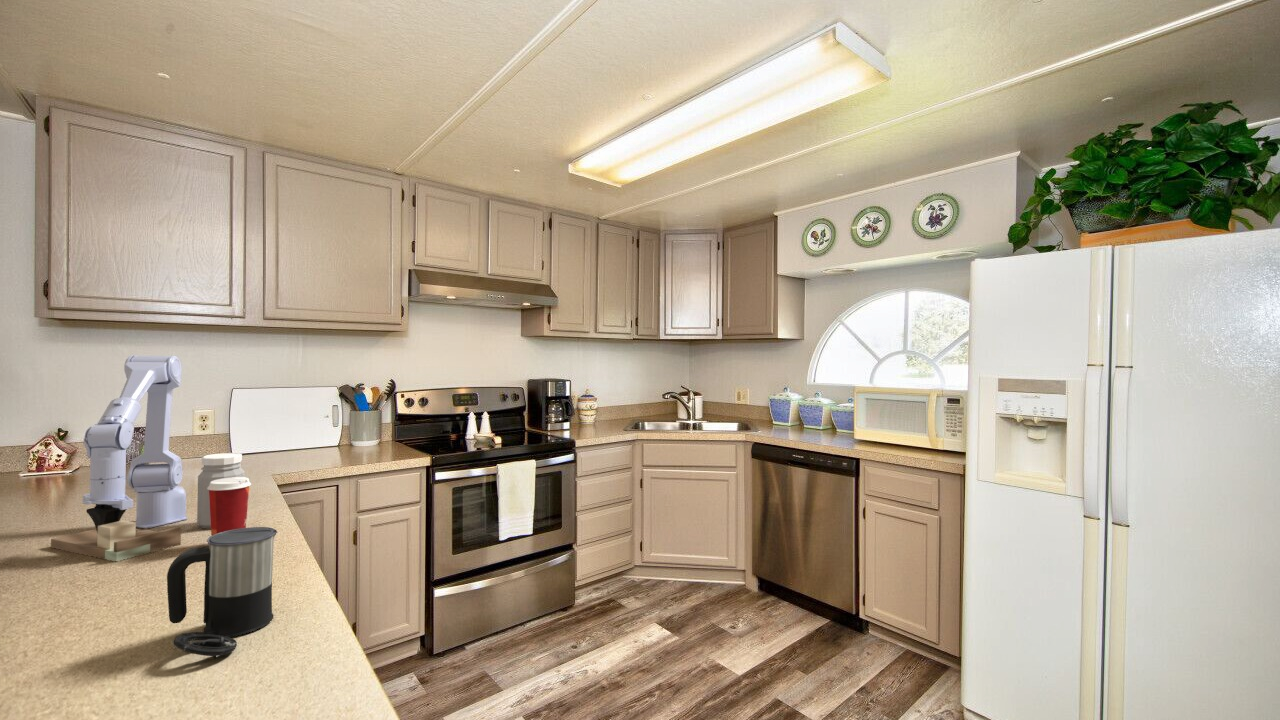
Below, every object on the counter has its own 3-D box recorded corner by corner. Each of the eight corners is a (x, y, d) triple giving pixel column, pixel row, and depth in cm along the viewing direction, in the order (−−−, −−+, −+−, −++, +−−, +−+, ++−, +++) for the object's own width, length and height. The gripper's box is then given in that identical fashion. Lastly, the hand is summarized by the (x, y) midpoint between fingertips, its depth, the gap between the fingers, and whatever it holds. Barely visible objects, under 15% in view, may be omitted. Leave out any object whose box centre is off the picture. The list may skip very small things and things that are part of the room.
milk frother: (264, 607, 95) (266, 522, 95) (297, 637, 85) (299, 542, 85) (157, 638, 84) (159, 542, 84) (179, 676, 74) (181, 567, 74)
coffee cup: (258, 539, 130) (259, 477, 130) (229, 551, 122) (230, 484, 122) (226, 537, 131) (227, 475, 131) (195, 549, 123) (196, 483, 123)
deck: (116, 532, 134) (117, 516, 134) (180, 544, 126) (180, 527, 126) (50, 547, 123) (51, 530, 123) (116, 561, 115) (116, 543, 115)
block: (122, 540, 122) (123, 520, 122) (135, 542, 121) (135, 522, 121) (97, 546, 118) (97, 525, 118) (109, 549, 116) (110, 528, 116)
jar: (187, 527, 139) (188, 457, 139) (226, 517, 148) (227, 451, 148) (215, 531, 136) (216, 459, 136) (253, 520, 145) (254, 453, 145)
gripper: (65, 478, 119) (63, 539, 119) (105, 483, 115) (103, 548, 114) (105, 472, 126) (104, 530, 126) (144, 477, 121) (143, 538, 121)
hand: (106, 538), depth 121 cm, fingers closed
